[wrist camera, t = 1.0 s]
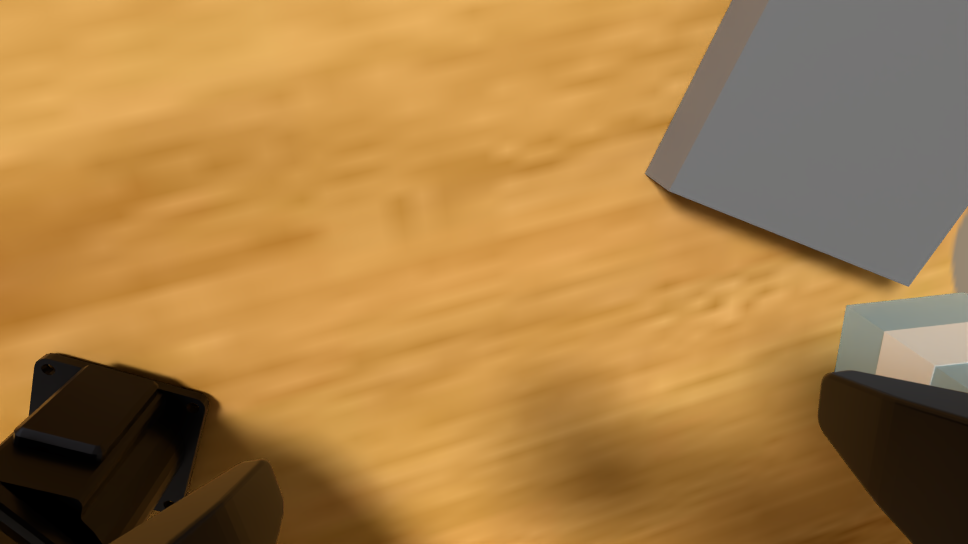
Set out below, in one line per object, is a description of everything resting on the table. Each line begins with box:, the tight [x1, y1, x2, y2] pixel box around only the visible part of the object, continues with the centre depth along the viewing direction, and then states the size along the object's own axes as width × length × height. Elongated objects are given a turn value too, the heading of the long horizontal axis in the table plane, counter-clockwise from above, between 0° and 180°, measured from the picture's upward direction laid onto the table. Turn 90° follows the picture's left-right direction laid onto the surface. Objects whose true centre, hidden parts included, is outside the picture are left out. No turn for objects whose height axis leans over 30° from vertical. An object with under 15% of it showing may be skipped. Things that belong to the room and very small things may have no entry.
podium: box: [645, 0, 968, 287], centre depth 19 cm, size 10×10×2 cm
